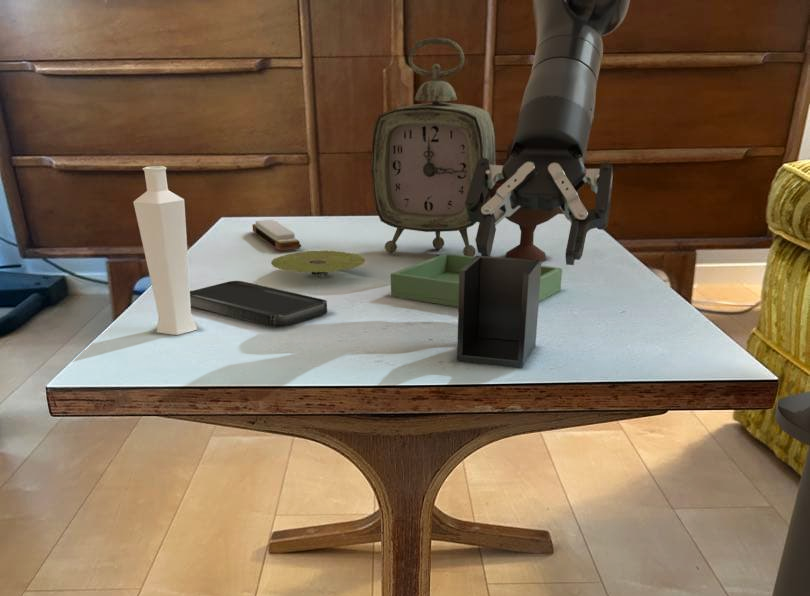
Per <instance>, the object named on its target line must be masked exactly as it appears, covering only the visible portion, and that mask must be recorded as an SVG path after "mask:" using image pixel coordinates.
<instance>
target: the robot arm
mask: <svg viewBox="0 0 810 596" xmlns="http://www.w3.org/2000/svg"><path fill="white" fill-rule="evenodd" d="M630 3H631V0H532V12H533V19H534V26H535V41H536V42H535V43H536V44H535V45H536V46H535V52H534V57H533V61H532V66H531V71H530V74H529V77H528V78H529V79H528V82H527V84H526V86H525V89H524V92H523V96H522V100H521V104H520V109H519V114H518V118H517V123H516V127H515V132H514V136H513V139H514V141H513V145H512V150H511V155H510V158H509V159H508V161H507V162H506V163H505V164H504V166H502V165H498V164H496V165H491V164H489V161H488V159H487V158H481V159H479V160H478V161H477V164H476V168H475V171H474V174H473V178H472V181H471V184H470V188H469V191H468V195H467V198H466V201H465V206H466V210H467V214H468V218H469V220H470V221H471V222H477V223H478V227H477V232H476V237H475V245H476V250H477V252H478V254H480V256H487V257H491V254H492V249H493V245H494V242H495V241H494V240H495V237H496V231H497V228H496V226H498V224H500V222H502V220H504V219H506V218H505V217H510V216H511V215H512V214H513V213H514V212H515V211H516V210H518V209H519V208H520V207H523V210H535V209H541V210H545V211H554V209H556V208H559V207H560V209H561V211H560V212H562V214H563V215H564V217H565V219H566V220H567V221H569V222H570V229H569V232H568V238H567V243H566V248H565V264H566V265H567V266H574V265H575V261H576V260H577V261H580V260H581V258H582V256H583V252H584V247H585V244H586V238H587V234H588V232H589V231H591V230H593V229H597V230H599V231H602V230H605V229H606V228H607V227H608V226H609V216H610V209H611V208H610V207H611V199H612V198H611V197H612V189H613V164H612V163H610V162H609V161H608V162H607V161H606V162H603V163H602V164H600V166H599V168H586V166H585V160H586V155H587V151H588V146H589V145H588V144H589V140H590V135H591V129H592V127H593V124H594V119H595V115H594V113H595V108H596V97H597V85H598V81H599V77H600V71H601V66H602V60H603V55H604V43H603V39H602V37H605V36H607V35H610V34H611V33H613V32H614V31H615V30H617V28H619V27H620V26H621V24H622V23H623V21H624V20H625V18H626V15H627V14H628V11H629V7H630ZM499 179H503V180H504V184H503V185H502V186H501V187H499V188H498V190H497V191H496V194H495V196H493V197H492V198H491V199H490V200H489V201H488V202H487V203H486V204H484V202H485V199H486V196H487V192H488V189H492V188H493V186H494V185H495V183H496V182H497V181H498V180H499ZM586 183H587V184H589V185H590V189H591V191H592V192H594V194H596V196H595V197H596V198H595V206H594V208H591V209H588V210H587V208H586V207H585V206H584V204H583V202H582V201H581V199H580V197H579V194H578V191H580V189H581V188H583V187H584V186H585V184H586ZM511 195H512V196H513V197H512V198H511V199H510V197H511Z"/></svg>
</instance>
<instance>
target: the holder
mask: <svg viewBox="0 0 810 596" xmlns="http://www.w3.org/2000/svg"><path fill="white" fill-rule="evenodd" d="M473 257H474V258H473V259H472V260H471V261H470V262H469V263H468V264H466V265H465V266H464V267H463V268H462V269H461V270H460V271H459V304H458V307H457V308H458V309H457V311H458V312H457V341H456V343H457V344H456V345H457V346H456V347H457V348H456V361H457V362H463V363H473V364H481V365H482V364H484V365H495V366H504V367H512V368H513V367H515V368H524V366H525V365H526V363H527V361H528V360H529V359H530V356H531V355H532V353H533V352H534V351H535V348H536V345H537V343H536V342H537V331H538V319H539V318H538V317H539V304H540V302H539V290H540V276H541V266H542V262H543V261H542V260H533V259H518V258H505V257H499V256H490V257H487V256H481V255H475V256H473Z"/></svg>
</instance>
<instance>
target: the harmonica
mask: <svg viewBox="0 0 810 596" xmlns="http://www.w3.org/2000/svg"><path fill="white" fill-rule="evenodd" d="M251 227H252V232H253V233H255V234H256V236H257V237H258V238H260V239H261V240H262V241H264V242H265V243H266V244H268V245H269V246H270V247H271V248H273V249H275V250H278V251H287V250H299V249H301V248H302V245H301V244H300V242H301V241H300V240H298V238H296V237H295V236H296V235H295V233H294V232H293V231H292V230H291V229H289V228H287V227H286V226H284V225H283V224H281V223H280V222H278V221H276V220H274V219H262V220H255V223H252V226H251Z"/></svg>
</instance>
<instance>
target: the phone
mask: <svg viewBox="0 0 810 596" xmlns="http://www.w3.org/2000/svg"><path fill="white" fill-rule="evenodd" d="M190 304H191V307H193V308H198V309H202V310H205V311H208V312H212V313H216V314H220V315H224V316H227V317H232V318H234V319H235V318H236V319H240V320H243V321H246V322H251V323H254V324H259V325H263V326H266V327H270V328H284V327H288V326H291V325H295V324H297V323H301V322H304V321H307V320H310V319H313V318H316V317H320V316H323V315H326V314H327V313H328V301H327V300H326V299H322V298H319V297H315V296H309V295H305V294H300V293H296V292H291V291H287V290H283V289H279V288H274V287H269V286H266V285H261V284H257V283H252V282H247V281H243V280H230V281H226V282H221V283H217V284H213V285H210V286H205V287H202V288H197V289H194V290H190Z"/></svg>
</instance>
